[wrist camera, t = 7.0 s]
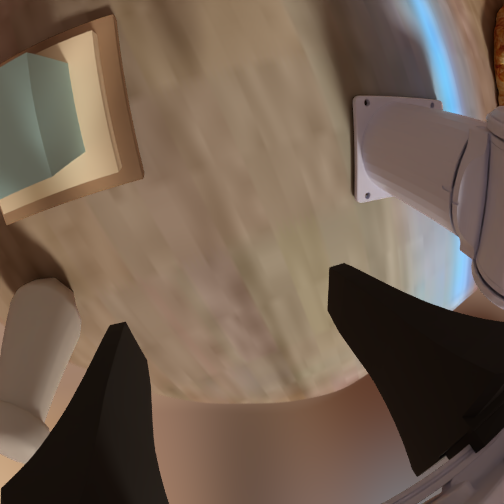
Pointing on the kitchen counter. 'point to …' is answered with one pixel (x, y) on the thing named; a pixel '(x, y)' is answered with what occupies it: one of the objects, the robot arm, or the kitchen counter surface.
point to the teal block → (36, 121)
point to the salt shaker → (34, 362)
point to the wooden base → (87, 121)
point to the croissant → (499, 54)
